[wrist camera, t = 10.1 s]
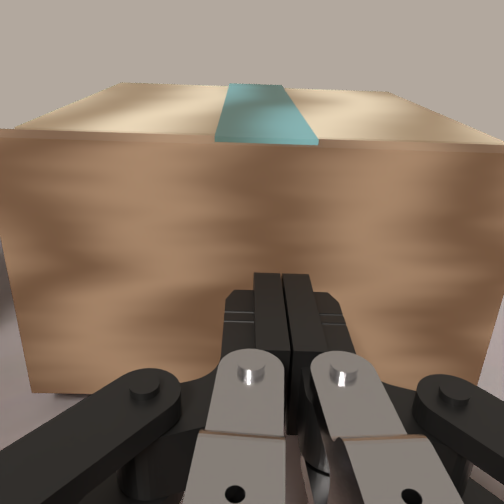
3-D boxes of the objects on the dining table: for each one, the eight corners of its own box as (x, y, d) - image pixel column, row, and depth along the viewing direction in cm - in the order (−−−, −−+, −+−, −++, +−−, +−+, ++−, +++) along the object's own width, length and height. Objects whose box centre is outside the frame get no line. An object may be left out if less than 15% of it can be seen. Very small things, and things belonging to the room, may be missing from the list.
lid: (31, 392, 17) (-22, 130, 13) (127, 229, 31) (115, 79, 27) (472, 400, 18) (546, 148, 14) (371, 236, 32) (393, 89, 28)
